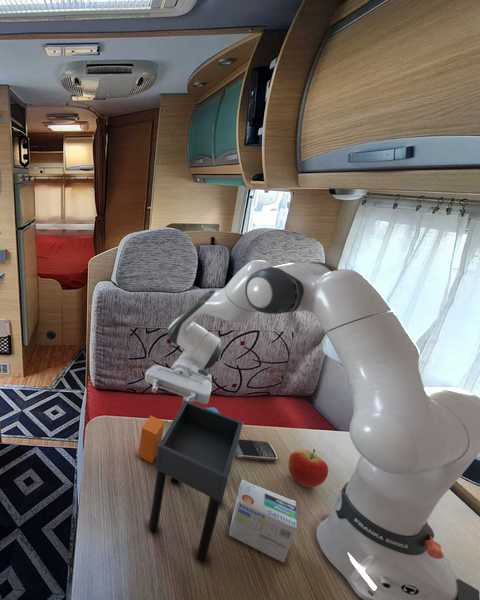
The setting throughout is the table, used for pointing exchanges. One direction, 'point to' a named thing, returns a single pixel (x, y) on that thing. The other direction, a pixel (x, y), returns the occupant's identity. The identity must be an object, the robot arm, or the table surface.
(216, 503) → the stand
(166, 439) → the dark gray open bin
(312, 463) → the apple
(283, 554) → the light bulb box
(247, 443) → the cell phone
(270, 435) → the table surface
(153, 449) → the block
